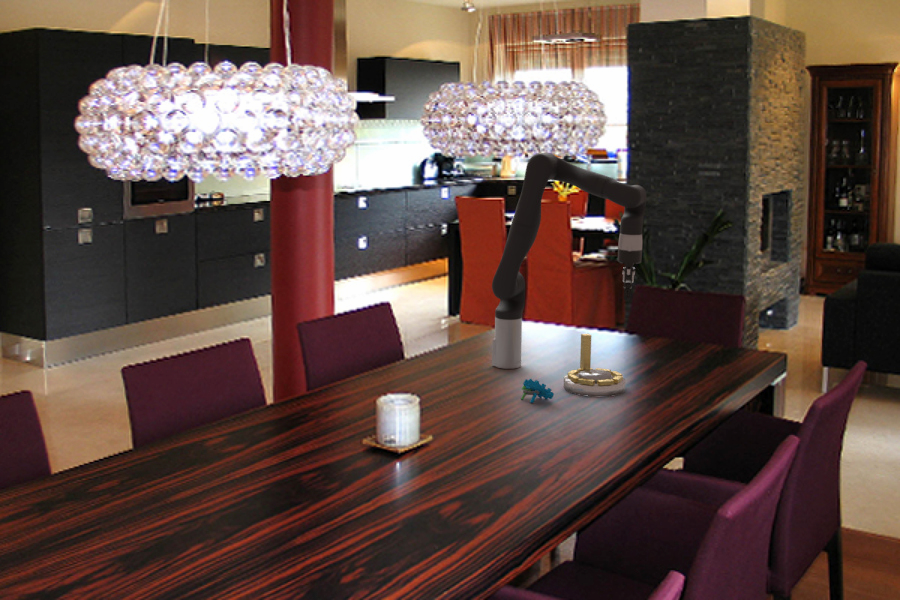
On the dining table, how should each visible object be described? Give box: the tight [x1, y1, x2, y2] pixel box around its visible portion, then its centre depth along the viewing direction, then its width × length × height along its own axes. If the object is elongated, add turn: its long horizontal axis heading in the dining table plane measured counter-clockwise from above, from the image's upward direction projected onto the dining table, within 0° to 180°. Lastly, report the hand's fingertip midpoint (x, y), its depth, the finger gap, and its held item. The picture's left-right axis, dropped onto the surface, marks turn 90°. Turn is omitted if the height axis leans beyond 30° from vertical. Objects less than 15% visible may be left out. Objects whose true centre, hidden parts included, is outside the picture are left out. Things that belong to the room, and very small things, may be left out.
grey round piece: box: [563, 368, 626, 397], centre depth 318 cm, size 19×19×5 cm
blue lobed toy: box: [520, 378, 555, 404], centre depth 303 cm, size 11×6×10 cm
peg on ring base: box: [567, 333, 624, 385], centre depth 316 cm, size 17×17×13 cm
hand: (627, 297), depth 323 cm, fingers open, 8 cm apart
